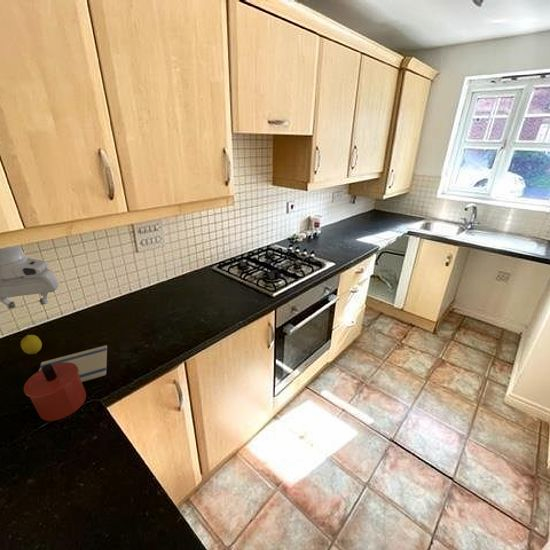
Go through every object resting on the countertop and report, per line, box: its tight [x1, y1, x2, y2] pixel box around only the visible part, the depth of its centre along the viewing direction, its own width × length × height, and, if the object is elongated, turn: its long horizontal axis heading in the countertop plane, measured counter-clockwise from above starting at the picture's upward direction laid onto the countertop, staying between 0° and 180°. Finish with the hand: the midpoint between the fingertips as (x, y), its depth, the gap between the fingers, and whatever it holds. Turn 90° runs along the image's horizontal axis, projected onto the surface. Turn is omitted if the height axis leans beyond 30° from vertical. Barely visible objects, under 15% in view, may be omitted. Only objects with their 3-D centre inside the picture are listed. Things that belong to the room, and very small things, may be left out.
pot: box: [29, 374, 87, 422], centre depth 86 cm, size 12×12×10 cm
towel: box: [38, 344, 108, 383], centre depth 100 cm, size 20×16×1 cm
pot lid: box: [23, 362, 78, 398], centre depth 83 cm, size 13×13×5 cm
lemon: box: [20, 334, 43, 355], centre depth 106 cm, size 6×6×8 cm
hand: (28, 305), depth 101 cm, fingers open, 8 cm apart
